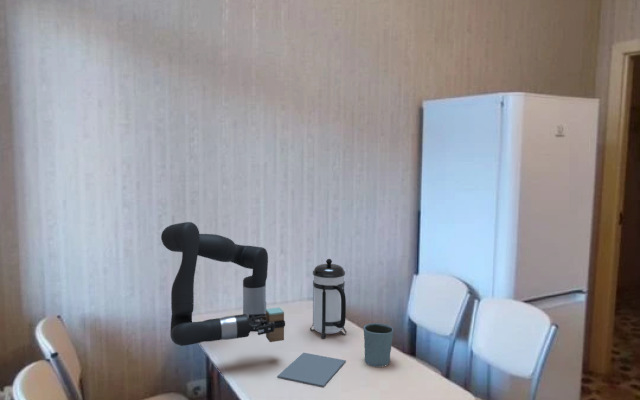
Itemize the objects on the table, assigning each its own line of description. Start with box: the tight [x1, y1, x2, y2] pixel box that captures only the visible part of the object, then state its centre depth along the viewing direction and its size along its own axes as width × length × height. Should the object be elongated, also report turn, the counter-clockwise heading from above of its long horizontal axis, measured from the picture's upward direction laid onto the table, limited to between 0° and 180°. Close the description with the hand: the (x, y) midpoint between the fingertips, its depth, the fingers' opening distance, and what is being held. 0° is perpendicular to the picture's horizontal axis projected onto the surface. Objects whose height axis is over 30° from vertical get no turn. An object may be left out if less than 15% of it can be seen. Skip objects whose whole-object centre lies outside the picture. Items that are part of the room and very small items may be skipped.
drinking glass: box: [363, 322, 394, 368], centre depth 171 cm, size 10×10×12 cm
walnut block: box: [265, 307, 285, 343], centre depth 170 cm, size 5×5×10 cm
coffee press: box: [309, 258, 347, 340], centre depth 195 cm, size 17×16×30 cm
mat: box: [276, 352, 346, 388], centre depth 165 cm, size 20×16×1 cm
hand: (282, 320), depth 171 cm, fingers closed on walnut block, 5 cm apart
